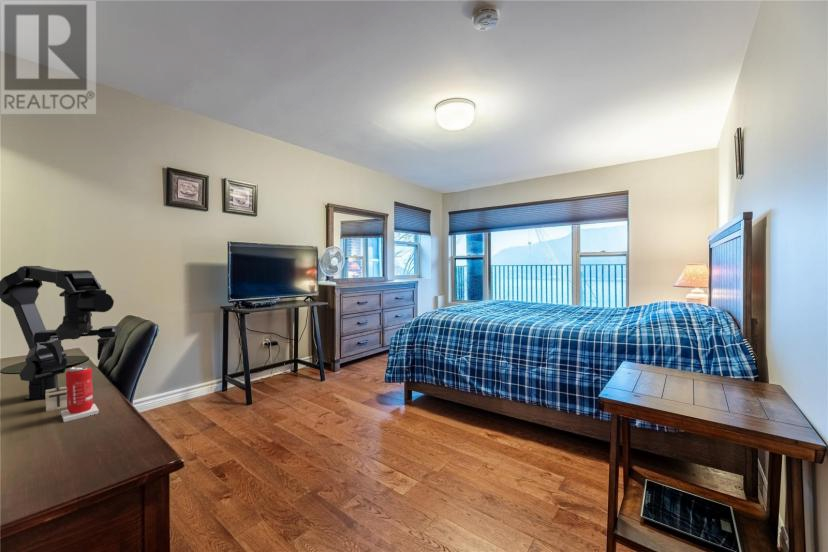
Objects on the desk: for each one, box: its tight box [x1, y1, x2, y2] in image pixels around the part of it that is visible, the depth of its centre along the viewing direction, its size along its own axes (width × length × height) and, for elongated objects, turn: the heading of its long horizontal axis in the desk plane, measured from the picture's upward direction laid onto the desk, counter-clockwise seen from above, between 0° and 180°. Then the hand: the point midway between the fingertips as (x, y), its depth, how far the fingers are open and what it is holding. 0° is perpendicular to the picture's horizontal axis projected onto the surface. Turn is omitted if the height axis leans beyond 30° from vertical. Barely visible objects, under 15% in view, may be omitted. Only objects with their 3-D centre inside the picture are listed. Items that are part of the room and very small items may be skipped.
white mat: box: [60, 402, 100, 423], centre depth 97 cm, size 7×7×1 cm
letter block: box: [45, 386, 67, 412], centre depth 103 cm, size 5×5×5 cm
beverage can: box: [65, 365, 94, 414], centre depth 97 cm, size 5×5×12 cm
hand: (79, 361), depth 107 cm, fingers open, 9 cm apart
